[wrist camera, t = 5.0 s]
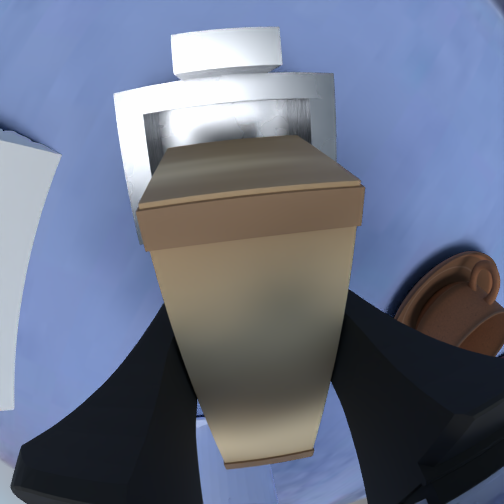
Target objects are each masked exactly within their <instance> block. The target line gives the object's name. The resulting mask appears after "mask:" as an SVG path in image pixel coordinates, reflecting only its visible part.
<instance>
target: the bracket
mask: <svg viewBox="0 0 504 504" xmlns="http://www.w3.org/2000/svg"><path fill="white" fill-rule="evenodd" d="M171 45H172V58H173V70H174V74H175V75H176V76H177V77H178V78H179V79H180V80H181V81H176V82H169V83H163V84H158V85H152V86H147V87H142V88H137V89H132V90H128V91H123V92H119V93H115V94H114V102H115V111H116V119H117V127H118V134H119V141H120V147H121V153H122V160H123V165H124V171H125V177H126V182H127V187H128V193H129V198H130V203H131V207H132V212H133V217H134V221H135V226H136V230H137V235H138V239H139V243H140V245H141V244H144V243H143V240H142V236H141V232H140V228H139V224H138V220H137V215H136V210H137V208H138V206H139V205H138V204H139V202H140V200H141V198H142V196H143V194H144V192H145V190H146V188H147V186H148V184H149V182H150V180H151V178H152V176H153V174H154V172H155V170H156V169H157V167H158V165H159V163H160V161H161V159H162V157H163V156H164V154H165V152H166V150H167V149H168V148H171V147H177V146H184V145H191V144H199V143H207V142H215V141H224V140H234V139H245V138H256V137H270V136H286V135H298V136H299V137H301V138H302V139H304V140H305V141H307V142H308V143H310V144H311V145H313V146H314V147H315V148H317V149H318V150H320V151H321V152H323V153H324V154H325V155H327V156H328V157H330V158H331V159H332V160H334V161H335V162H336V112H335V89H334V73H306V72H282V73H268V72H270V71H272V70H273V69H275V68H277V67H279V66H281V65H282V53H281V41H280V30H279V27H245V28H228V29H215V30H205V31H196V32H188V33H181V34H175V35H171Z"/></svg>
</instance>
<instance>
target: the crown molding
mask: <svg viewBox="0 0 504 504" xmlns="http://www.w3.org/2000/svg"><path fill="white" fill-rule="evenodd" d="M61 156H62V155H61V154H59V153H57V152H55V151H54V150H52V149H50V148H48V147H46V146H44V145H43V144H40V143H36V142H32V141H31V140H30V139H28V138H27V137H25V136H22V135H20V134H17V133H16V132H15V131H6V130H5V131H3V129H0V411H5V410H14V373H15V354H16V341H17V331H18V322H19V314H20V307H21V300H22V294H23V288H24V283H25V277H26V272H27V268H28V263H29V258H30V254H31V250H32V246H33V242H34V238H35V234H36V230H37V227H38V223H39V219H40V216H41V213H42V209H43V206H44V203H45V200H46V197H47V194H48V191H49V188H50V185H51V182H52V179H53V177H54V174H55V171H56V168H57V166H58V163H59V161H60V158H61Z"/></svg>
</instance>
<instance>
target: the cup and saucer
mask: <svg viewBox="0 0 504 504" xmlns="http://www.w3.org/2000/svg"><path fill="white" fill-rule="evenodd" d="M499 288H500V276H499V272H498V270H497V266H496V264H495V262H494V261H493V259H492V258H491V257H489V256H488V255H486V254H484V253H481V252H477V251H467V252H462V253H459V254H456V255H454V256H452V257H450V258H448V259H446V260H444V261H443V262H441V263H440V264H438V265H437V266H435V267H434V268H433V269H431V270H430V271H429V272H428V273H427V274H425V275H424V276H423V277H422V278H421V279H420V280H419V281H418V282H417V284H416V285H415V286H414V287H413V288H412V289H411V291H410V292H409V293H408V295H407V296H406V297H405V299H404V300H403V302H402V304H401V305H400V307H399V309H398V311H397V313H396V315H395V317H394V319H396V320H398V321H399V322H401V323H403V324H405V325H407V326H409V327H411V328H413V329H415V330H417V331H419V332H421V333H423V334H425V335H428V336H430V337H432V338H435V339H437V340H440V341H442V342H445V343H448V344H450V345H453V346H456V347H459V348H462V349H466V350H469V351H473V352H476V353H480V354H484V355H488V356H493V357H495V356H496V355H497V353H498V352H499V351H500V349H501V348H502V346H503V344H504V308H503V307H502V306H501V305H500V304H499V303H497V302H496V301H495V299H496V297H497V294H498V292H499Z"/></svg>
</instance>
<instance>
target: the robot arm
mask: <svg viewBox="0 0 504 504" xmlns="http://www.w3.org/2000/svg"><path fill="white" fill-rule="evenodd" d="M331 382H332V384H333V387H334V389H335V391H336V393H337V395H338V398H339V400H340V402H341V405H342V407H343V410H344V412H345V415H346V418H347V422H348V425H349V428H350V431H351V435H352V438H353V442H354V445H355V449H356V452H357V456H358V460H359V464H360V468H361V473H362V477H363V481H364V486H365V491H366V496H367V501H368V504H504V358H499V357H493V356H488V355H484V354H480V353H476V352H473V351H469V350H466V349H462V348H459V347H456V346H453V345H450V344H448V343H445V342H442V341H440V340H437V339H435V338H432V337H430V336H428V335H425V334H423V333H421V332H419V331H417V330H415V329H413V328H411V327H409V326H407V325H405V324H403V323H401V322H399V321H398V320H396V319H394V318H392V317H391V316H389V315H387V314H386V313H384V312H382V311H381V310H379V309H377V308H376V307H374V306H373V305H371V304H370V303H368V302H367V301H365V300H364V299H362V298H361V297H359V296H358V295H356V294H355V293H354V292H352V291H351V290H349V289H348V294H347V300H346V306H345V312H344V318H343V323H342V329H341V334H340V339H339V344H338V349H337V354H336V359H335V363H334V368H333V372H332V377H331ZM196 415H197V396H196V393H195V391H194V388H193V385H192V383H191V380H190V377H189V375H188V372H187V369H186V367H185V364H184V361H183V358H182V355H181V352H180V349H179V347H178V344H177V341H176V338H175V335H174V332H173V329H172V326H171V322H170V319H169V316H168V313H167V310H166V307H165V303H163V305H162V307H161V308H160V310H159V311H158V313H157V315H156V316H155V318H154V319H153V321H152V322H151V324H150V325H149V327H148V328H147V330H146V331H145V333H144V334H143V336H142V337H141V339H140V340H139V341H138V343H137V344H136V346H135V347H134V348H133V349H132V351H131V352H130V353H129V355H128V356H127V357H126V359H125V360H124V361H123V363H122V364H121V365H120V366H119V367H118V369H117V370H116V371H115V372H114V373H113V374H112V375H111V376H110V377H109V379H108V380H107V381H106V382H105V383H104V384H103V385H102V386H101V387H100V388H99V389H98V390H96V391H95V392H94V393H93V394H92V395H91V396H90V397H89V398H88V399H87V400H86V401H85V402H83V403H82V404H81V405H80V406H79V407H78V408H76V409H75V410H74V411H73V412H72V413H70V414H69V415H68V416H66V417H65V418H64V419H62V420H61V421H60V422H58V423H57V424H56V425H54V426H53V427H51V428H50V429H48V430H47V431H45V432H43V433H42V434H40V435H39V436H37V437H35V438H34V439H32V440H30V441H29V442H27V443H25V444H23V445H22V446H21V449H20V452H19V456H18V459H17V463H16V467H15V470H14V474H13V478H12V482H11V490H12V492H13V493H14V494H15V495H16V496H17V497H18V498H20V499H21V500H22V501H24V502H25V503H27V504H279V503H278V498H277V493H276V488H275V483H274V478H273V473H272V468H271V464H268V465H261V466H254V467H246V468H238V469H228V470H226V468H225V466H224V460H223V458H222V455H221V453H220V451H219V449H218V447H217V444H216V442H215V440H214V437H213V435H212V433H211V430H210V428H209V426H208V423H207V421H206V418H205V417H197V418H196Z"/></svg>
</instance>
